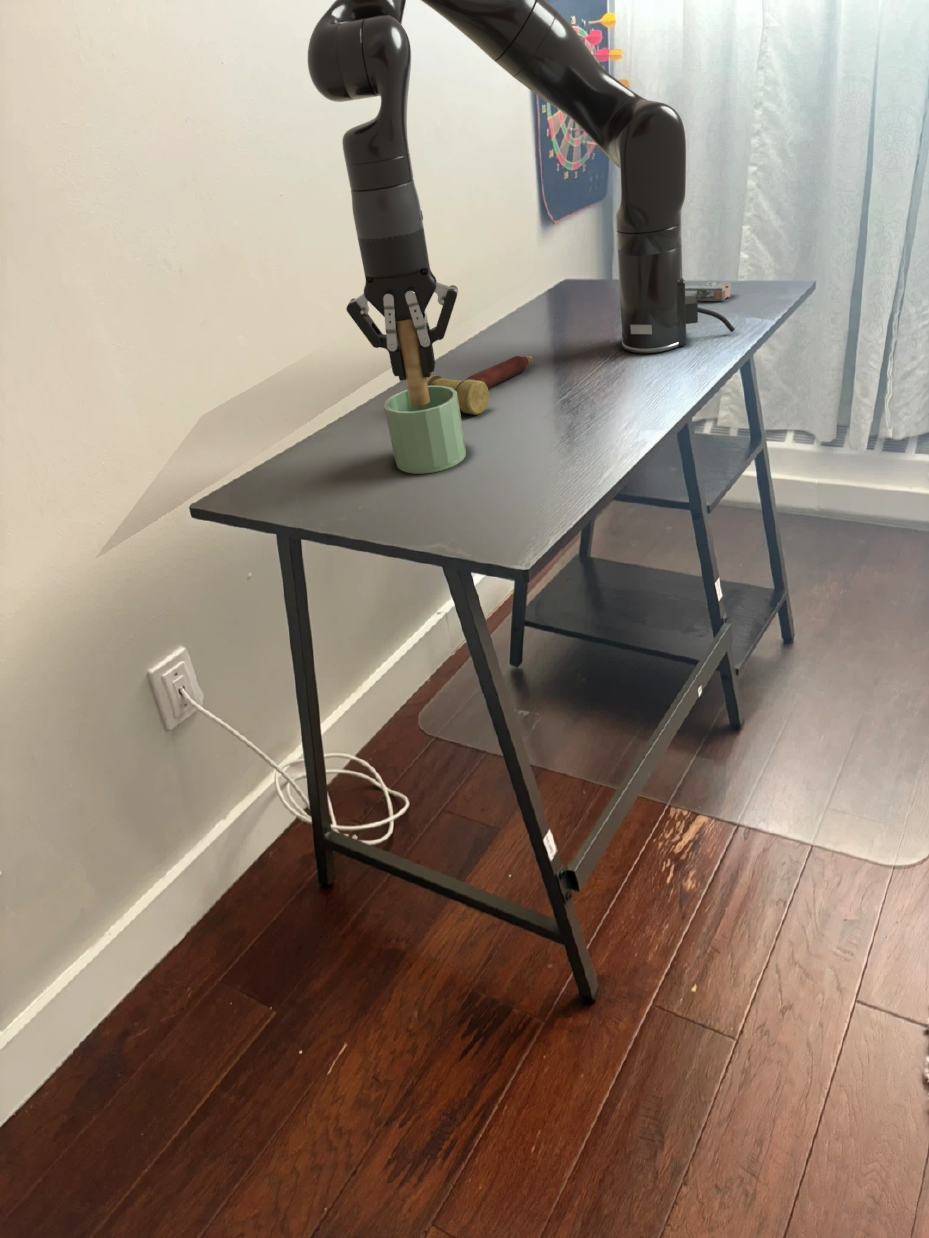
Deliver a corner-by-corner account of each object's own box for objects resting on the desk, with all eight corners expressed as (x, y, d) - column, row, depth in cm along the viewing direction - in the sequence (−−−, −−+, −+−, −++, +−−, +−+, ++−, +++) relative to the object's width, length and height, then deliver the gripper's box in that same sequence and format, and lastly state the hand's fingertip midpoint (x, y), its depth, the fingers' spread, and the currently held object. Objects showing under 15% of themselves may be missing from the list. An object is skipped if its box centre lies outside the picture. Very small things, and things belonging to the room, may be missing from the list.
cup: (467, 440, 126) (458, 381, 121) (464, 469, 118) (454, 407, 114) (400, 448, 127) (388, 390, 123) (392, 477, 119) (380, 416, 115)
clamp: (736, 278, 163) (716, 295, 156) (736, 291, 164) (716, 309, 157) (652, 278, 170) (630, 295, 164) (652, 291, 172) (630, 308, 165)
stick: (430, 398, 119) (416, 313, 114) (429, 405, 117) (414, 319, 112) (411, 400, 120) (396, 316, 114) (409, 407, 118) (393, 322, 112)
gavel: (504, 341, 148) (557, 346, 142) (506, 370, 151) (558, 376, 145) (412, 379, 135) (467, 386, 129) (417, 410, 137) (470, 419, 132)
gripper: (323, 243, 105) (355, 394, 115) (448, 225, 104) (471, 380, 113) (334, 229, 112) (364, 373, 121) (452, 212, 110) (473, 360, 119)
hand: (415, 376), depth 117 cm, fingers closed on stick, 2 cm apart
